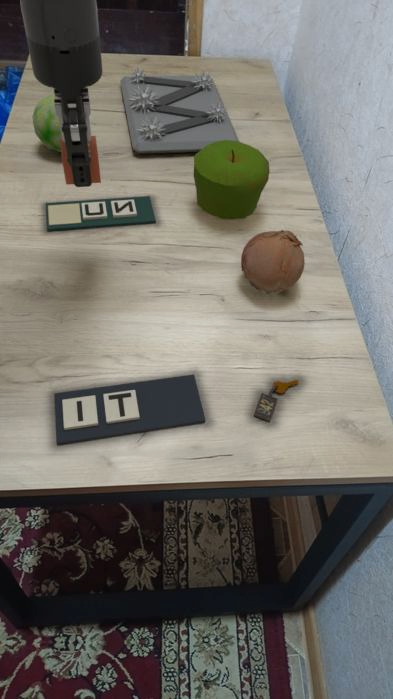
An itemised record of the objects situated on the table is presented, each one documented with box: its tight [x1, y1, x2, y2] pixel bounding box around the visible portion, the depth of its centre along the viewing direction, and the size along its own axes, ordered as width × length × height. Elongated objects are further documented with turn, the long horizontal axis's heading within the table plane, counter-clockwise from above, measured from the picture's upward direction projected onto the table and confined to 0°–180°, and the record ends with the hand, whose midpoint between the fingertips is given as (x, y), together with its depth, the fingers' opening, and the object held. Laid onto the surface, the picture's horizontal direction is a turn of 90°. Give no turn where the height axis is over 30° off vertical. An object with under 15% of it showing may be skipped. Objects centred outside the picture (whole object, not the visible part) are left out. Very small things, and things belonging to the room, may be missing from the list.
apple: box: [193, 140, 270, 221], centre depth 83 cm, size 12×12×11 cm
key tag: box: [253, 379, 299, 422], centre depth 64 cm, size 8×3×1 cm, turn 144°
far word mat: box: [45, 195, 157, 232], centre depth 84 cm, size 18×7×1 cm, turn 102°
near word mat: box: [53, 373, 206, 446], centre depth 61 cm, size 18×7×1 cm, turn 102°
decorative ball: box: [32, 93, 62, 153], centre depth 92 cm, size 10×10×10 cm
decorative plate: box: [119, 65, 240, 155], centre depth 103 cm, size 30×22×7 cm
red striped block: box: [60, 135, 102, 186], centre depth 63 cm, size 4×4×4 cm
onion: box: [240, 229, 306, 295], centre depth 73 cm, size 10×9×10 cm
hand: (82, 173), depth 65 cm, fingers closed on red striped block, 4 cm apart
